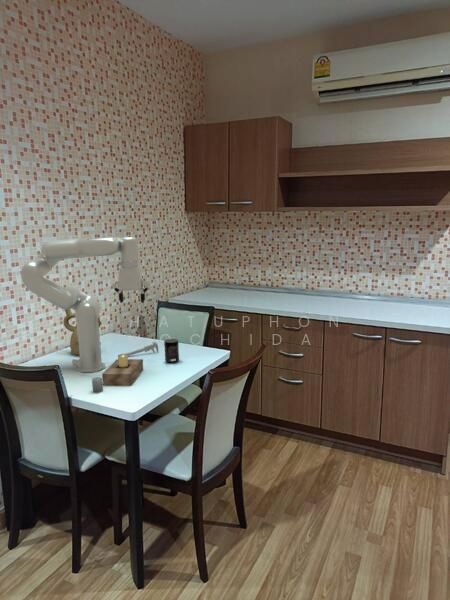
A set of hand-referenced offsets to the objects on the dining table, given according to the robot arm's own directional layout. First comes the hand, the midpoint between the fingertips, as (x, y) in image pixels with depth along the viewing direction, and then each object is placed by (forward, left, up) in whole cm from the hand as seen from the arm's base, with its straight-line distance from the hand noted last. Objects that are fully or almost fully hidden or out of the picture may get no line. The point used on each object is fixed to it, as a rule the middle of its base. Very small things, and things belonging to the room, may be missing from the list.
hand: (132, 302), depth 213 cm
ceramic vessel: (-33, +22, -31) cm, 50 cm away
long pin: (-1, -16, -30) cm, 34 cm away
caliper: (-3, +17, -31) cm, 35 cm away
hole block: (-1, -16, -30) cm, 34 cm away
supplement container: (+16, +6, -31) cm, 35 cm away
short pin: (-7, -32, -30) cm, 45 cm away
